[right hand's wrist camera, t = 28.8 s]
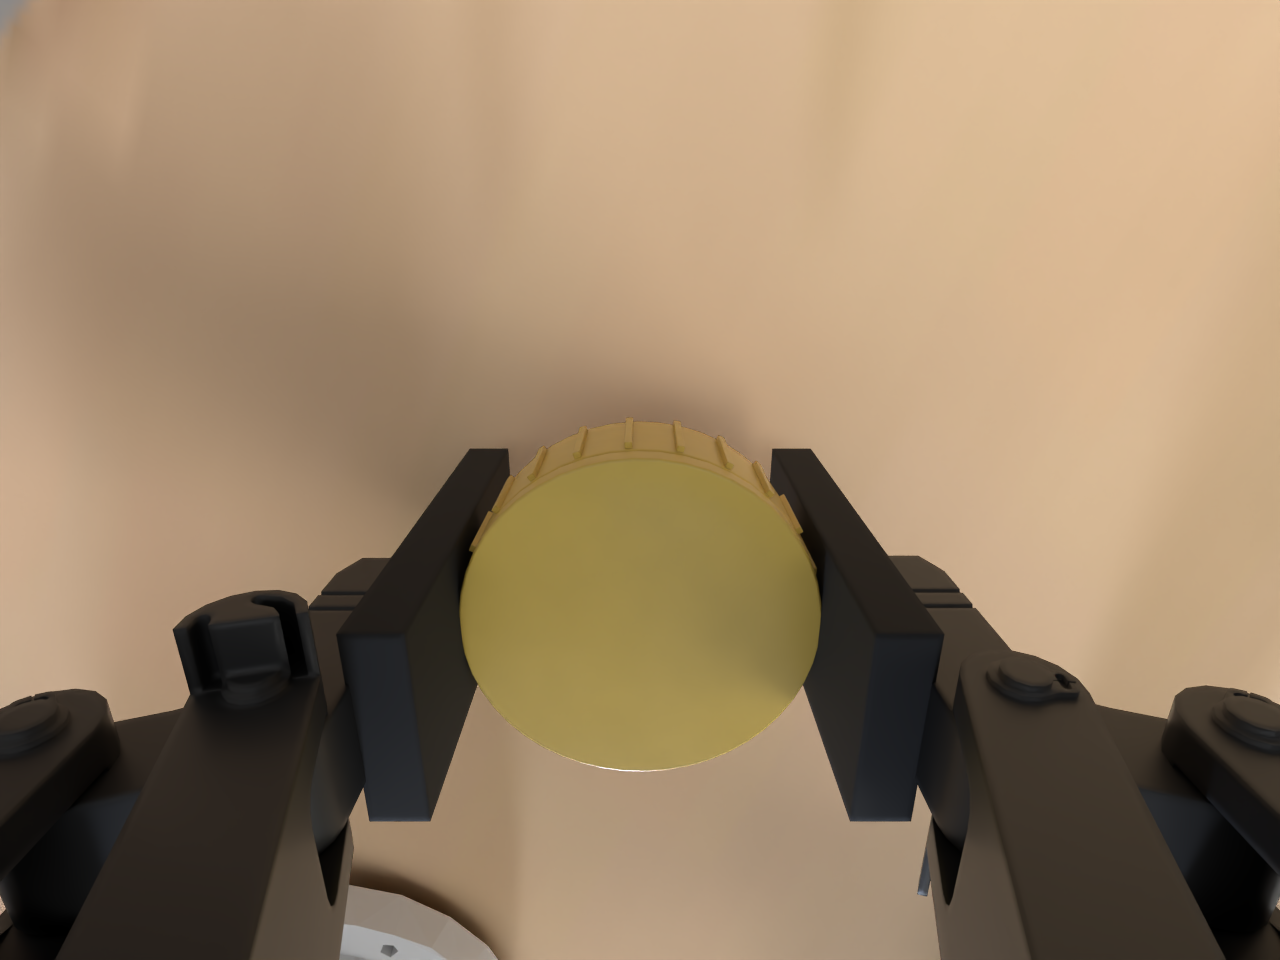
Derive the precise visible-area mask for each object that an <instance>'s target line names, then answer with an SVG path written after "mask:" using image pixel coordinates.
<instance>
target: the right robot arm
mask: <svg viewBox="0 0 1280 960" xmlns="http://www.w3.org/2000/svg"><path fill="white" fill-rule="evenodd" d="M509 476H510V469H509V455H508V449H469V451H468V452H467V453H466V455H465V456H464V458H463V459H462V460H461V462H460V463H459V465H458V466H457V467H456V469H455V470H454V471H453V473H452V474H451V476H450V477H449V478H448V480H447V481H446V483H445V484H444V485H443V487H442V488H441V489H440V491H439V492H438V494H437V495H436V496H435V498H434V499H433V501H432V502H431V503H430V505H429V506H428V507H427V509H426V510H425V512H424V513H423V514H422V516H421V517H420V519H419V520H418V521H417V523H416V524H415V525H414V527H413V528H412V530H411V531H410V532H409V534H408V535H407V536H406V538H405V539H404V541H403V542H402V543H401V545H400V546H399V548H398V549H397V550H396V552H395V553H394V554H393V556H392V557H391V558H362V559H360V560H359V561H357V562H355V563H354V564H352V565H350V566H348V567H347V568H345V569H343V570H342V571H340V572H338V573H337V574H336V575H335V576H334V577H333V578H332V580H331V581H330V582H329V583H328V584H327V586H326V587H325V588H324V589H323V590H322V592H321V595H318V596H317V597H316V599H315V600H314V601H313V602H312V603H311V605H310V606H309V609H308V604H307V601H306V600H305V599H303V598H302V597H300V596H299V595H298V594H296V593H291V592H286V591H281V590H268V591H253V592H248V593H243V594H238V595H233V596H229V597H226V598H224V599H221V600H218V601H215V602H213V603H210V604H207V605H205V606H203V607H201V608H200V609H198V610H196V611H194V612H193V613H191V614H189V615H187V616H186V617H185V618H184V619H183V620H182V621H181V622H180V623H179V624H178V625H177V626H176V627H175V628H174V629H173V633H174V636H175V640H176V644H177V647H178V651H179V655H180V658H181V662H182V665H183V669H184V673H185V676H186V680H187V684H188V687H189V691H190V696H189V698H188V700H187V702H186V704H185V706H184V708H181V709H177V710H173V711H169V712H164V713H159V714H154V715H148V716H143V717H138V718H133V719H128V720H123V721H118V722H114V721H113V718H112V715H111V711H110V708H109V705H108V702H107V699H105V698H104V697H103V696H101V695H100V694H99V693H97V692H96V691H89V690H81V689H70V690H62V691H54V692H52V691H51V692H45V693H40V694H36V695H35V696H34V697H32V696H29V697H26V698H23V699H20V700H17V701H15V702H13V703H11V704H10V705H8V706H6V707H4V708H2V709H0V896H1V898H2V901H3V903H4V905H5V907H6V910H5V911H4V912H3V913H2V914H1V915H0V960H339V958H340V950H341V943H342V935H343V927H344V919H345V912H346V904H347V896H348V888H349V881H350V873H351V865H352V857H353V850H354V846H353V839H352V832H351V827H350V822H349V816H350V814H351V812H352V809H353V807H354V805H355V803H356V801H357V799H358V797H359V795H360V793H361V791H362V789H363V788H364V793H365V799H366V804H367V810H368V815H369V821H431V818H432V815H433V812H434V809H435V806H436V803H437V800H438V798H439V795H440V792H441V789H442V786H443V783H444V780H445V777H446V774H447V771H448V769H449V766H450V763H451V760H452V757H453V754H454V751H455V748H456V745H457V742H458V740H459V737H460V734H461V731H462V728H463V725H464V722H465V719H466V716H467V713H468V711H469V708H470V705H471V702H472V699H473V696H474V693H475V690H476V687H477V684H478V683H477V681H476V680H475V678H474V676H473V674H472V672H471V669H470V667H469V664H468V661H467V659H466V656H465V653H464V649H463V643H462V634H461V624H460V614H459V603H460V592H461V588H462V584H463V579H464V575H465V571H466V569H467V567H468V564H469V562H470V559H471V557H472V554H473V552H471V551H469V549H470V546H471V544H472V542H473V540H474V538H475V536H476V534H477V532H478V530H479V528H480V526H481V525H482V523H483V521H484V519H485V517H486V515H487V513H488V511H490V512H493V511H492V508H493V506H494V504H495V502H496V500H497V498H498V496H499V494H500V492H501V490H502V488H503V486H504V484H505V482H506V480H507V479H508V477H509ZM770 484H771V485H772V486H773V488H774V489H775V491H776V492H777V494H778V495H779V496H781V495H783V494H784V495H785V497H786V499H787V501H788V503H789V505H790V507H791V509H792V511H793V512H794V514H795V516H796V518H797V520H798V522H799V524H800V526H801V528H802V530H803V532H802V533H800V535H801V537H802V539H803V541H804V543H805V545H806V547H807V549H808V551H809V553H810V555H811V557H812V559H813V561H814V563H815V566H816V568H817V572H816V577H817V580H818V584H819V591H820V597H821V621H820V630H819V639H818V648H817V651H816V654H815V658H814V661H813V664H812V666H811V669H810V671H809V673H808V675H807V677H806V679H805V682H804V683H803V686H804V689H805V692H806V695H807V698H808V701H809V703H810V706H811V709H812V712H813V715H814V718H815V721H816V724H817V727H818V730H819V732H820V735H821V738H822V741H823V744H824V747H825V750H826V753H827V756H828V759H829V761H830V764H831V767H832V770H833V773H834V776H835V779H836V782H837V785H838V788H839V790H840V793H841V796H842V799H843V802H844V805H845V808H846V811H847V814H848V817H849V819H850V821H911V818H912V812H913V807H914V801H915V796H916V790H917V785H918V786H919V788H920V790H921V792H922V794H923V797H924V799H925V801H926V803H927V805H928V807H929V809H930V811H931V813H932V817H931V822H930V827H929V832H928V837H927V843H926V848H925V853H924V858H923V863H922V868H921V874H920V879H919V886H918V893H917V894H918V895H923V896H927V894H928V890H929V885H930V881H931V887H932V894H933V902H934V910H935V918H936V925H937V933H938V941H939V948H940V956H941V960H1280V910H1279V909H1278V908H1277V907H1276V905H1277V902H1278V900H1279V898H1280V705H1279V704H1277V703H1274V702H1272V701H1271V700H1270V699H1268V698H1266V697H1263V696H1260V695H1257V694H1254V693H1250V694H1249V693H1247V691H1243V690H1238V689H1234V688H1222V687H1213V686H1199V687H1191V688H1185V689H1184V690H1183V691H1181V692H1180V693H1179V694H1177V695H1176V696H1175V698H1174V701H1173V704H1172V707H1171V710H1170V713H1169V716H1168V719H1164V718H1159V717H1154V716H1148V715H1143V714H1138V713H1133V712H1128V711H1123V710H1118V709H1113V708H1108V707H1104V706H1100V705H1096V704H1095V703H1094V701H1093V699H1092V697H1091V695H1090V693H1089V692H1088V691H1087V690H1086V688H1085V687H1084V686H1083V685H1082V683H1081V682H1080V681H1079V680H1078V679H1077V678H1076V677H1074V676H1073V675H1071V674H1070V673H1068V672H1067V671H1065V670H1064V669H1062V668H1061V667H1059V666H1058V665H1055V664H1053V663H1050V662H1048V661H1046V660H1043V659H1041V658H1039V657H1036V656H1033V655H1029V654H1024V653H1020V652H1016V651H1012V650H1011V649H1010V648H1009V647H1008V646H1007V644H1006V643H1005V642H1004V641H1003V640H1002V639H1001V637H1000V636H999V635H998V634H997V633H996V631H995V630H994V629H993V628H992V627H991V626H990V624H989V623H988V622H987V621H986V620H985V619H984V617H983V616H982V615H981V614H980V613H979V611H978V610H977V609H976V608H973V607H972V603H971V602H970V601H969V600H968V599H967V597H966V596H965V595H964V594H963V593H960V589H959V588H958V587H957V586H956V584H955V583H954V582H953V581H952V580H951V578H950V577H949V576H948V575H947V574H946V573H945V571H943V570H941V569H940V568H938V567H936V566H935V565H933V564H931V563H930V562H928V561H926V560H925V559H923V558H921V557H919V556H888V555H887V554H886V552H885V551H884V550H883V548H882V547H881V545H880V544H879V543H878V541H877V540H876V539H875V537H874V536H873V534H872V533H871V532H870V530H869V529H868V528H867V526H866V525H865V523H864V522H863V521H862V519H861V518H860V516H859V515H858V514H857V512H856V511H855V510H854V508H853V507H852V505H851V504H850V503H849V501H848V500H847V498H846V497H845V496H844V494H843V493H842V492H841V490H840V489H839V487H838V486H837V485H836V483H835V482H834V480H833V479H832V478H831V476H830V475H829V474H828V472H827V471H826V469H825V468H824V467H823V465H822V464H821V463H820V461H819V460H818V458H817V457H816V456H815V454H814V453H813V451H812V450H811V449H772V461H771V476H770Z"/></svg>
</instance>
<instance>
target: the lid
mask: <svg viewBox="0 0 1280 960" xmlns="http://www.w3.org/2000/svg"><path fill="white" fill-rule="evenodd" d="M492 511H493V512H490V511H488V513H487V515H486V517H485V519H484V521H483V523H482V525H481V526H480V528H479V530H478V532H477V534H476V536H475V538H474V540H473V542H472V544H471V546H470V549H469V551H471V552H473V554H472V557H471V559H470V562H469V564H468V567H467V569H466V571H465V575H464V579H463V584H462V588H461V592H460V603H459V614H460V624H461V634H462V643H463V649H464V653H465V656H466V659H467V661H468V664H469V667H470V669H471V672H472V674H473V676H474V678H475V680H476V681H477V683H478V685H479V687H480V689H481V691H482V692H483V693H484V695H485V696H486V697H487V699H488V700H489V701H490V703H491V704H492V705H493V707H494V708H495V709H496V710H497V711H498V712H499V713H500V714H501V715H502V716H503V717H504V718H505V719H506V721H507V722H508V723H510V724H511V725H512V726H513V727H515V728H516V729H517V730H518V731H520V732H521V733H522V734H523V735H524V736H526V737H528V738H529V739H531V740H532V741H534V742H536V743H537V744H539V745H540V746H542V747H544V748H546V749H548V750H550V751H552V752H554V753H556V754H558V755H560V756H563V757H566V758H568V759H571V760H574V761H577V762H580V763H583V764H587V765H591V766H595V767H600V768H605V769H612V770H620V771H642V772H647V771H660V770H670V769H675V768H681V767H686V766H690V765H694V764H697V763H701V762H704V761H707V760H710V759H713V758H715V757H718V756H720V755H722V754H725V753H727V752H729V751H731V750H733V749H735V748H737V747H738V746H740V745H742V744H744V743H746V742H747V741H749V740H750V739H752V738H753V737H754V736H756V735H757V734H759V733H760V732H761V731H763V730H764V729H765V728H766V727H768V726H769V725H770V724H771V723H772V722H773V721H774V720H775V719H776V718H777V717H778V716H780V714H781V713H782V712H783V711H784V710H785V709H786V707H787V706H788V705H789V704H790V703H791V701H792V700H793V699H794V697H795V696H796V694H797V693H798V691H799V690H800V688H801V687H802V685H803V683H804V682H805V679H806V677H807V675H808V673H809V671H810V669H811V666H812V664H813V661H814V658H815V654H816V651H817V648H818V639H819V630H820V621H821V597H820V591H819V584H818V580H817V577H816V572H817V568H816V566H815V563H814V561H813V559H812V557H811V555H810V553H809V551H808V549H807V547H806V545H805V543H804V541H803V539H802V537H801V535H800V533H802V532H803V530H802V528H801V526H800V524H799V522H798V520H797V518H796V516H795V514H794V512H793V511H792V509H791V507H790V505H789V503H788V501H787V499H786V497H785V495H784V494H783V495H781V496H779V495H778V494H777V492H776V491H775V489H774V488H773V486H772V485H771V484H770V482H769V481H768V479H767V477H766V475H765V473H764V471H763V469H762V467H761V465H760V464H759V463H758V462H757V461H755V462H754V463H753V464H752V463H751V462H750V461H749V460H747V459H746V458H745V457H744V456H742V455H741V454H740V453H739V452H738V451H736V450H734V449H733V448H731V447H729V446H728V445H727V444H726V442H725V439H724V438H723V437H721V436H718V437H717V439H715V438H713V437H710V436H708V435H706V434H703V433H701V432H698V431H695V430H692V429H688V428H685V427H681V422H679V421H674V422H673V425H671V424H665V423H658V422H633V418H626V422H625V423H614V424H609V425H605V426H600V427H596V428H591V429H588V430H587V427H586V426H583V427H580V429H579V432H578V434H575V435H572V436H570V437H568V438H566V439H564V440H562V441H560V442H558V443H556V444H554V445H552V446H551V447H549V448H548V449H546V447H545V446H543V447H541V448H540V449H539V450H538V452H537V455H536V457H535V458H534V459H533V460H532V461H531V462H530V463H529V464H528V465H527V466H525V467H524V468H523V469H522V470H521V471H520V472H519V473H518V475H517V476H516V477H515V478H514V477H513V476H511V475H510V476H509V477H508V479H507V480H506V482H505V484H504V486H503V488H502V490H501V492H500V494H499V496H498V498H497V500H496V502H495V504H494V506H493V508H492Z"/></svg>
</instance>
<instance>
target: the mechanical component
mask: <svg viewBox="0 0 1280 960" xmlns="http://www.w3.org/2000/svg"><path fill="white" fill-rule="evenodd" d="M339 960H498V959H497V958H496V956H495V955H494V953H493V952H492V951H491V949H490V948H489V946H488V945H486V944H485V943H484V942H482V941H481V940H480V939H478V938H477V937H476V936H475V935H473V934H472V933H471V932H469V931H468V930H467V929H465V928H464V927H463V926H461V925H460V924H459V923H458V922H456V921H455V920H454V919H452V918H451V917H449V916H447V915H445V914H443V913H440V912H438V911H436V910H434V909H432V908H429V907H427V906H425V905H423V904H421V903H418V902H416V901H414V900H412V899H410V898H407V897H405V896H403V895H399V894H394V893H389V892H384V891H379V890H373V889H368V888H363V887H358V886H353V885H349V888H348V896H347V904H346V912H345V919H344V927H343V935H342V943H341V950H340V958H339Z"/></svg>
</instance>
